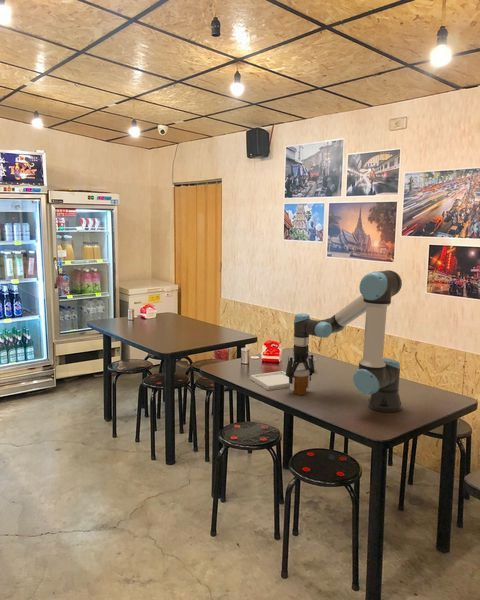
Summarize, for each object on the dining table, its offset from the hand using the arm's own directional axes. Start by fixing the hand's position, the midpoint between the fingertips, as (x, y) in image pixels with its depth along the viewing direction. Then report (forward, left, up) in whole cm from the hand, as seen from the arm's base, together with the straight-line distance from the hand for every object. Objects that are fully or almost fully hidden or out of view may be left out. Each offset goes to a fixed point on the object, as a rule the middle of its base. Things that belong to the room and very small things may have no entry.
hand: (299, 388), depth 256 cm
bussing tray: (+19, +3, -2) cm, 19 cm away
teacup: (+31, -22, -3) cm, 38 cm away
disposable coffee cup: (0, 0, -3) cm, 3 cm away
